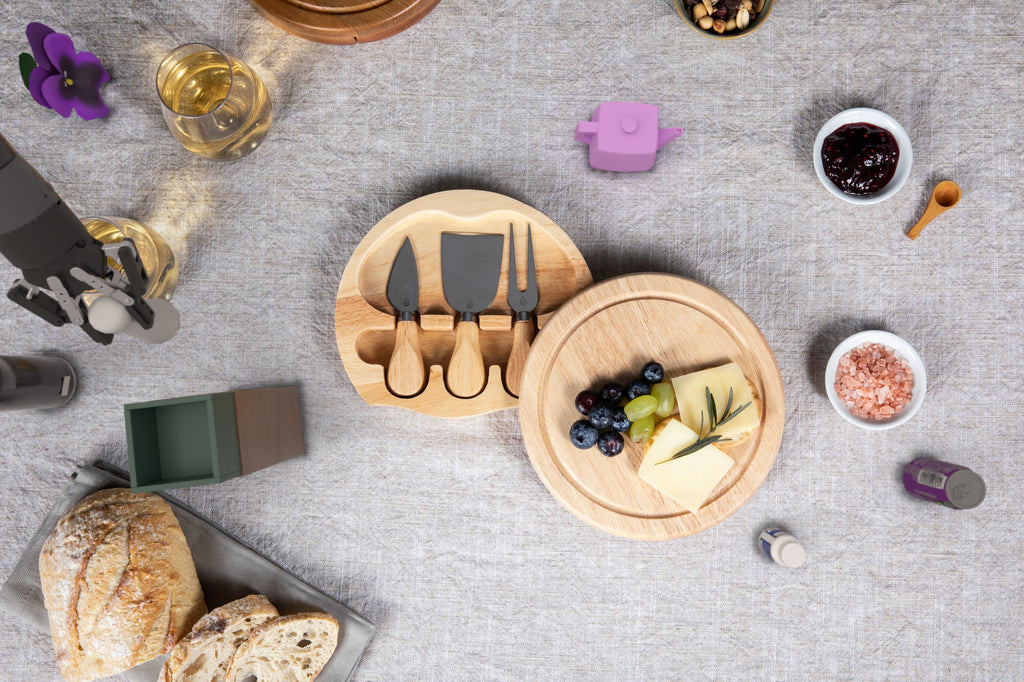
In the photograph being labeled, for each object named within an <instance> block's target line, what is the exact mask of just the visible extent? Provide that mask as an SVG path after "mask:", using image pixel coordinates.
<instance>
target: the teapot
mask: <svg viewBox="0 0 1024 682" xmlns="http://www.w3.org/2000/svg"><path fill="white" fill-rule="evenodd" d="M683 135H684V128H683V127H679V126H674V127H668V128H659V107H658V106H657V105H655V104H652V103H643V102H633V101H632V102H631V101H608V102H602V103H600V104H599V105H598V106H597V107H596V108H595V109H594V111H593V113H592V116H591V119H590V121H586V120H584V121H583V120H580V121H578V123H577V125H576V126H575V129H574V137H573V140H574V141H575V142H578V143H583V144H586V145H588V150H589V151H588V159H589V160H588V163H589V165H590V167H591V168H592V169H596V170H601V171H602V170H603V171H607V172H608V171H609V172H618V173H619V172H620V173H624V172H625V173H628V172H629V173H630V172H633V173H634V172H635V173H636V172H644V171H645V172H647V171H648V170H651V169H652V168H653V167H654V164H655V163H656V162H655V161H656V158H657V151H658V150H659V149H661V148H663V147H665V146H667V145H669V144H670V143H671V142H673V141H674V140H676V139H679V138H680V137H681V136H683Z"/></svg>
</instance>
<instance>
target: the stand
mask: <svg viewBox="0 0 1024 682" xmlns="http://www.w3.org/2000/svg"><path fill="white" fill-rule="evenodd" d="M227 392H234V402H235V412H236V422H237V432H238V442H239V452H240V462H241V471H242V475H241V476H238V477H237V478H243V477H246V476H249V475H251V474H254V473H256V472H259V471H262V470H265V469H267V468H270V467H273V466H276V465H279V464H281V463H283V462H285V461H288V460H291V459H294V458H297V457H299V456H302V455H305V453H306V451H305V442H304V441H305V440H304V432H303V423H302V413H301V404H300V395H299V386H297V385H295V386H282V387H264V388H252V389H251V388H249V389H238V390H237V389H235V390H234V389H233V390H227V391H218V392H217V393H227ZM214 393H215V392H211V393H209V394H214ZM204 394H205V393H203V394H201V395H204ZM196 395H197V394H195V395H192V396H196ZM188 396H189V395H187V396H184V397H188ZM180 397H181V396H179V397H178V396H177V397H176V398H180ZM172 398H173V397H170V398H168V399H172ZM163 399H164V398H162V399H160V398H159V400H163ZM155 400H156V399H153V400H151V401H155Z"/></svg>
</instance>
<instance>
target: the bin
mask: <svg viewBox="0 0 1024 682" xmlns="http://www.w3.org/2000/svg"><path fill="white" fill-rule="evenodd" d="M213 393H214V394H210V393H203V394H204V395H202V394H195V395H196V396H193V395H187V396H188V397H185V396H179V397H180V398H177V397H171V398H172V399H169V398H162V399H163V400H160V399H154V400H155V401H152V400H148V401H140V402H130V403H123V414H124V426H125V437H126V446H127V447H126V449H127V459H128V468H129V480H130V488H131V490H130V491H131V494H132V495H134V494H142V493H151V492H159V491H168V490H175V489H176V490H177V489H183V488H184V489H185V488H192V487H201V486H210V485H217V484H222V483H225V482H228V481H231V480H233V479H235V478H239V477H238V476H241V475H242V471H241V462H240V452H239V442H238V432H237V422H236V412H235V402H234V392H227V393H218V392H213Z"/></svg>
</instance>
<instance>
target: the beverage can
mask: <svg viewBox="0 0 1024 682" xmlns="http://www.w3.org/2000/svg"><path fill="white" fill-rule="evenodd" d="M902 482H903V486H904V487H905V490H906V491H907V492H908V494H909V495H911V496H912V497H914V498H917V499H920V500H923V501H926V502H929V503H933V504H935V505H938V506H941V507H946V508H949V509H952V510H956V511H963V510H972V509H976V508H977V507H979V506H980V505H982V503H983V501H984V500H985V498H986V495H987V486H986V482H985V480H984V479H983V477H982V476H981V475H980V474H979V473H977V472H975V471H974V470H972V469H971V468H969V467H968V466H964V465H961V464H956V463H952V462H947V461H942V460H937V459H934V458H928V457H918V458H914V459H913V460H911V461H909V462H908V464H906V466H905V468H904V470H903V473H902Z"/></svg>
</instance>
